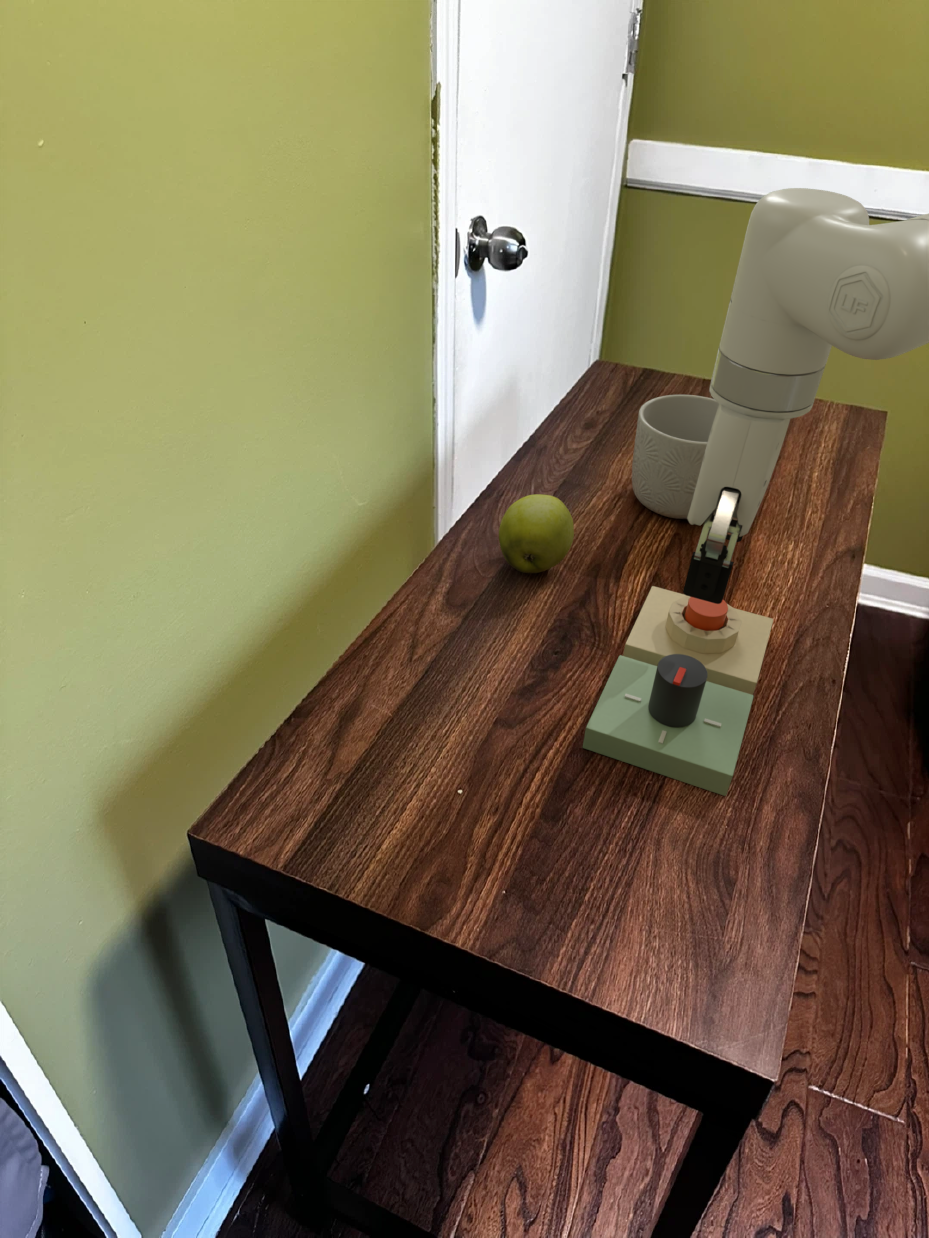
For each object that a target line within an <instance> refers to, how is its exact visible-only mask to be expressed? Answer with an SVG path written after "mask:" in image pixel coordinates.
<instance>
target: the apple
mask: <svg viewBox="0 0 929 1238" xmlns="http://www.w3.org/2000/svg"><path fill="white" fill-rule="evenodd" d="M506 509H507V510H505V512H504V514H503V516H502V518H501V521H500V524H499V527H498V542H499V547H500V550H501V553H502V556H503V558H504V560H505V561H506V563H507V564H508V565H510V566H511V567H512V568H513V569H515V570H516V571H518V572H520V573H523V574H538V573H543V572H545V571H548V570H550V569H553V568H554V567H556V566H557V565H559V564H560V563H561V562H562V561H563V560H564V559H565V557H566V556H567V555H568V553H569V551H570V549H571V548H572V545H573V542H574V536H575V529H574V528H575V526H574V520H573V517H572V515H571V512H570V511H569V509H568V507H567V506H566V504H565V503H564V502H563V501H562V500H560V499H559V498H558V497H556V496H554V495H550V494H539V493H537V494H534V493H533V494H528V495H525V496H523V497H521V498H519V499H517V500H516V501H514V502H513V503H512V504H511V505H509V507H508V508H506Z"/></svg>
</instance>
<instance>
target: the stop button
mask: <svg viewBox="0 0 929 1238" xmlns="http://www.w3.org/2000/svg"><path fill="white" fill-rule="evenodd" d="M727 604H728V603H727V602H726V601H725V600H724V599H723V600H722V602H721V603H720V604H715V603H712V602H708V601H704V600H701V599H697V598H694V597H690V598H689V601H688V605H687V609H686V613H685V619H686V621H687V622H688V623H689V624H690V625H692V626H693V627H694V628H697V629H701V630H704V631H716V630H719V629H720V628H721V627H722V626H723V625H724V622H725V618H726V615H727V611H728V605H729V604H728V605H727Z"/></svg>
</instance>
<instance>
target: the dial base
mask: <svg viewBox="0 0 929 1238" xmlns="http://www.w3.org/2000/svg"><path fill="white" fill-rule="evenodd" d="M656 670H657V666H655V665H651V664H648V663H645V662H641V661H638V660H635V659H631V658H628V657H625V656H623V655H622V654H620V655H618V658H617V659H616V662H615V664H614V666H613V668H612V670H611V673H610V674H609V676H608V678H607V681H606V684H605V686H604V688H603V690H602V692H601V694H600V696H599V698H598V700H597V703H596V705H595V707H594V709H593V712H592V714H591V716H590V718H589V720H588V722H587V724H586V727H585V731H584V737H583V742H582V749H585V750H588V751H590V752H594V753H597V754H599V755H602V756H606V757H608V758H611V759H613V760H618V761H620V762H623V763H626V764H629V765H632V766H635V767H637V768H640V769H644V770H646V771H650V772H652V773H656V774H659V775H661V776H663V777H666V778H667V777H668V778H670V779H674V780H676V781H679V782H682V783H685V784H687V785H690V786H694V787H696V788H700V789H703V790H704V791H705V790H706V791H709V792H711V793H714V794H717V795H721V796H722V797H723V796H724V797H726V796H727V795H728V791H729V789H730V786H731V784H732V783H731V782H732V780H733V778H734V773H735V770H736V767H737V761H738V759H739V754H740V750H741V746H742V744H743V739H744V735H745V732H746V728H747V724H748V719H749V717H750V712H751V709H752V705H753V702H754V701H753V700H754V697H755V695H754V694H753V695H751V694H748V693H744V692H741V691H738V690H734V689H731V688H728V687H724V686H721V685H718V684H714V683H711V682H708V681H706V684H705V687H704V691H703V694H702V698H701V701H700V705H699V708H698V712H697V715H696V718H695V720H694V722H692V723H691V724H690V725H688V726H685V727H679V728H675V727H669V726H666V725H663V724H661V723H659V722H658V721H656V720H655V719H654V718H653V717H652V716H651V714H650V712H649V709H648V705H649V700H650V696H651V692H652V687H653V683H654V679H655V674H656Z"/></svg>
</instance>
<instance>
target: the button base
mask: <svg viewBox="0 0 929 1238" xmlns="http://www.w3.org/2000/svg"><path fill="white" fill-rule="evenodd" d="M689 598H690V596H686V595H685V594H684V593H680V592H677V591H673V590H669V589H666V588H663V587H658V586H654V585H651V588H650V590H649V592H648V594H647V596H646V598H645V600H644V603H643V605H642V607H641V609H640V611H639V614H638V616H637V618H636V620H635V622H634V625H633V626H632V629H631V631H630V633H629V635H628V637H627V639H626V642H625V644H624V649H623V653H622V656H625V657H628V658H631V659H635V660H638V661H641V662H645V663H648V664H651V665H655V666H658V663H659V661H660V660H661V659H662V658H663V657H665V656H668V655H672V654H683V655H687V656H690V657H693V658H695V659H697V660H698V661H700V662H701V663H702V664H703V665H704V666H705V668H706V670H707V673H708V677H707V680H706V681H708V682H711V683H714V684H718V685H721V686H724V687H728V688H731V689H734V690H738V691H741V692H744V693H748V694H751V695H754V694H755V690H756V687H757V684H758V682H759V677H760V673H761V670H762V665H763V663H764V658H765V654H766V650H767V647H768V643H769V639H770V634H771V631H772V628H773V623H774V618H771V617H768V616H766V615H765V616H764V615H761V614H757V613H753V612H749V611H746V610H742V609H739V608H735V607H733V606H731V605H729V603H727V605H728V611H727V615H726V618H725V622H724V625H723V626H722V627H721V628H720V629H719V630H716V631H704V630H701V629H697V628H694V627H693V626H692V625H690V624H689V623H688V622H687V621H686V619H685V613H686V609H687V605H688V601H689Z"/></svg>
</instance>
